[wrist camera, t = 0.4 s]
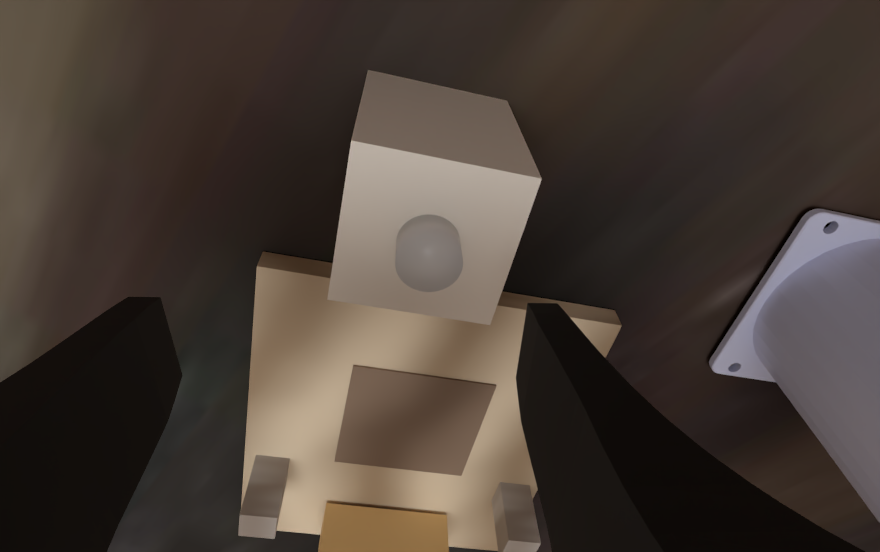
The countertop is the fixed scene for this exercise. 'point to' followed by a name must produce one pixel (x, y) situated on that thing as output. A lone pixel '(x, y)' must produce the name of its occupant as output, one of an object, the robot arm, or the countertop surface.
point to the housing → (431, 201)
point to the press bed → (389, 411)
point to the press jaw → (381, 530)
